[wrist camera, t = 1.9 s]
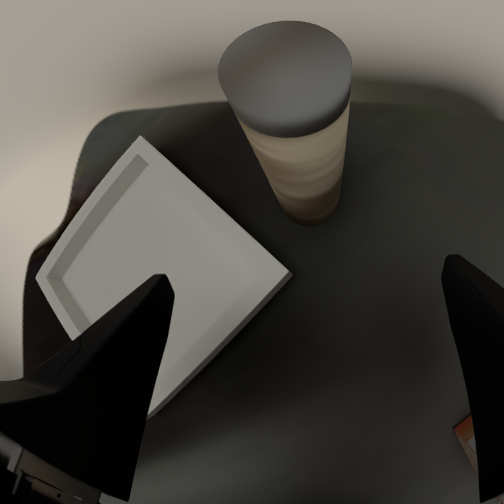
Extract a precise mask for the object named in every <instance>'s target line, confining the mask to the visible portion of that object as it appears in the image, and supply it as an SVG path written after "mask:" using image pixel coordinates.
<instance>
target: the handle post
mask: <svg viewBox="0 0 504 504" xmlns="http://www.w3.org/2000/svg"><path fill="white" fill-rule="evenodd" d="M351 74H352V60H351V56H350V53H349V51H348V49H347V47H346V45H345V44H344V43H343V42H342V40H341V39H339V38H338V37H337V36H336V35H335V34H333V33H332V32H330V31H329V30H327V29H325V28H323V27H320V26H318V25H315V24H311V23H307V22H301V21H278V22H272V23H268V24H264V25H261V26H258V27H255V28H253V29H251V30H249V31H247V32H245V33H243V34H242V35H241V36H239V37H238V38H237V39H235V40H234V41H233V42H232V43H231V44H230V45H229V46H228V47H227V49H226V50H225V52H224V53H223V55H222V57H221V59H220V62H219V67H218V79H219V83H220V85H221V87H222V89H223V91H224V93H225V95H226V97H227V99H228V101H229V103H230V105H231V107H232V109H233V110H234V112H235V114H236V116H237V118H238V120H239V122H240V124H241V126H242V128H243V130H244V132H245V134H246V136H247V138H248V140H249V142H250V144H251V146H252V148H253V150H254V152H255V154H256V156H257V158H258V160H259V162H260V164H261V166H262V168H263V170H264V172H265V174H266V176H267V178H268V180H269V182H270V185H271V187H272V189H273V191H274V193H275V195H276V197H277V199H278V201H279V203H280V206H281V208H282V210H283V211H284V213H285V214H286V215H287V216H288V217H289V218H290V219H291V220H292V221H294V222H296V223H298V224H302V225H317V224H320V223H323V222H324V221H326V220H328V219H329V218H330V217H331V216H332V215H333V214H334V212H335V211H336V209H337V206H338V203H339V196H340V189H341V181H342V173H343V165H344V156H345V147H346V137H347V127H348V116H349V103H350V89H351Z"/></svg>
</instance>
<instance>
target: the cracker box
mask: <svg viewBox="0 0 504 504" xmlns="http://www.w3.org/2000/svg"><path fill="white" fill-rule="evenodd" d="M454 431H455V434H456V436H457V438H458V440H459V442H460V444H461V446H462V448H463V450H464V452H465V454H466V456H467V458H468V460H469V462H470V464H471V467H472V469H473V470H474V471H475V472H476V473H477V475H478V464H477V454H476V445H475V443H476V442H475V436H474V429H473V422H472V416H471V415H470V416H469V417H468V418H466V419H465V420H464V421H463V422H461V423H460V424H459V425H458V426H457V427H455V428H454ZM497 498H498V500H499V501H500V502H501V503H502V504H504V495H501V496H499V497H497Z"/></svg>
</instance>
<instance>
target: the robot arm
mask: <svg viewBox="0 0 504 504" xmlns="http://www.w3.org/2000/svg"><path fill="white" fill-rule="evenodd" d="M441 281H442V287H443V291H444V296H445V300H446V305H447V310H448V316H449V321H450V325H451V329H452V332H453V336H454V339H455V343H456V347H457V351H458V355H459V359H460V363H461V367H462V371H463V375H464V380H465V385H466V389H467V394H468V399H469V405H470V410H471V416H472V422H473V429H474V436H475V442H476V443H475V445H476V454H477V464H478V476H479V495H480V503H483V502H485V501H488V500H491V499H494V498H496V497H499V496H501V495H504V288H503V287H501V286H500V285H499V284H498V283H496V282H495V281H494V280H492V279H491V278H490V277H489V276H487V275H486V274H485V273H483V272H482V271H481V270H479V269H478V268H477V267H475V266H474V265H473V264H471V263H470V262H468V261H467V260H466V259H464V258H463V257H462V256H460V255H458V254H454V255H448V256H447V257H446V259H445V263H444V267H443V271H442V276H441ZM174 300H175V293H174V290H173V288H172V285H171V283H170V281H169V279H168V276H167V275H166V274H154V275H152V276H151V277H150V278H149V279H147V280H146V281H145V282H144V283H142V284H141V285H140V286H139V287H137V288H136V289H135V290H134V291H132V292H131V293H130V294H129V295H127V296H126V297H125V298H124V299H122V300H121V301H120V302H119V303H117V304H116V305H115V306H114V307H113V308H111V309H110V310H109V311H108V312H106V313H105V314H104V315H103V316H102V317H100V318H99V319H98V320H97V321H96V322H94V323H93V324H92V325H91V326H90V327H88V328H87V329H86V330H85V331H84V332H82V334H80V335H79V336H78V337H76V338H75V339H74V340H73V341H72V342H70V343H69V344H68V345H67V346H66V347H64V348H63V349H62V350H61V351H59V352H58V353H57V354H55V355H54V356H53V357H51V358H50V359H49V360H47V361H46V362H45V363H43V364H42V365H41V366H39V367H38V368H37V369H35V370H34V371H33V372H31V373H30V374H29V375H27V376H25V377H23V378H21V379H18V380H13V381H0V504H101V503H99V499H100V495H101V493H104V494H106V495H109V496H112V497H115V498H117V499H120V500H123V501H126V502H128V501H129V498H130V493H131V488H132V483H133V478H134V473H135V469H136V464H137V459H138V455H139V450H140V445H141V441H142V437H143V432H144V428H145V424H146V420H147V416H148V411H149V407H150V403H151V399H152V395H153V392H154V388H155V384H156V380H157V376H158V372H159V369H160V365H161V361H162V358H163V354H164V350H165V347H166V343H167V339H168V335H169V330H170V324H171V318H172V312H173V306H174Z"/></svg>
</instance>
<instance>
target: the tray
mask: <svg viewBox="0 0 504 504" xmlns="http://www.w3.org/2000/svg"><path fill="white" fill-rule="evenodd" d="M154 274H166V275H167V276H168V279H169V281H170V283H171V285H172V288H173V290H174V293H175V300H174V306H173V312H172V318H171V324H170V330H169V335H168V339H167V343H166V347H165V350H164V354H163V358H162V361H161V365H160V369H159V372H158V376H157V380H156V384H155V388H154V392H153V395H152V399H151V403H150V407H149V411H148V416H147V419H149V418H150V417H152V416H154V415H155V414H156V413H157V412H159V411H160V410H161V409H162V408H163V407H164V406H165V405H166V404H167V403H168V402H169V401H170V400H171V399H172V398H173V397H174V396H175V395H176V394H177V393H178V392H179V391H180V390H182V389H183V388H184V387H185V386H186V385H187V384H188V383H189V382H190V381H191V380H192V379H193V378H194V377H195V376H196V375H197V374H198V373H199V372H200V371H201V370H202V369H203V368H204V367H205V366H206V365H207V364H208V363H209V362H210V361H211V360H212V359H213V358H214V357H215V356H216V355H217V354H218V353H219V352H220V351H221V350H222V349H223V348H224V347H225V346H226V345H227V344H228V343H229V342H230V341H231V340H232V339H233V338H234V337H235V336H236V335H237V334H238V333H239V332H240V331H241V330H242V329H243V328H244V327H245V325H246V324H247V323H248V322H249V321H250V320H251V319H252V318H253V317H254V316H255V315H256V314H257V313H258V312H259V311H260V310H261V309H262V308H263V307H264V306H265V305H266V304H267V303H268V301H269V300H270V299H271V298H272V297H273V296H274V295H275V294H276V293H277V292H278V291H279V290H280V289H281V288H282V287H283V285H284V284H285V283H286V282H287V281H288V280H289V279H290V278H291V277H292V276H293V274H292V273H291V272H290V271H289V270H287V269H286V268H285V267H284V266H283V265H282V264H281V263H280V262H279V261H278V260H277V259H276V258H275V257H273V256H272V255H271V254H270V253H269V252H268V251H267V250H266V249H265V248H264V247H263V246H262V245H261V244H259V243H258V242H257V241H256V240H255V239H254V238H253V237H252V236H251V235H250V234H249V233H248V232H246V231H245V230H244V229H243V228H242V227H241V226H240V225H239V224H238V223H237V222H236V221H234V220H233V219H232V218H231V217H230V216H229V215H228V214H227V213H226V212H225V211H224V210H222V209H221V208H220V207H219V206H218V205H217V204H216V203H215V202H214V201H213V200H212V199H210V198H209V197H208V196H207V195H206V194H205V193H204V192H203V191H202V190H201V189H199V188H198V187H197V186H196V185H195V184H194V183H193V182H192V181H191V180H190V179H189V178H187V177H186V176H185V175H184V174H183V173H182V172H181V171H180V170H179V169H178V168H176V167H175V166H174V165H173V164H172V163H171V162H170V161H169V160H168V159H166V158H165V157H164V156H163V155H162V154H161V153H160V152H159V151H158V150H156V149H155V148H154V147H153V146H152V145H151V144H150V143H148V142H147V141H146V140H145V139H144V138H143V137H142V136H139V137H138V138H137V139H136V141H135V142H134V143H133V144H132V145H131V146H130V147H129V148H128V150H127V151H126V152H125V153H124V154H123V155H122V157H121V158H120V159H119V160H118V161H117V163H116V164H115V165H114V166H113V167H112V169H111V170H110V171H109V172H108V174H107V175H106V176H105V177H104V179H103V180H102V181H101V182H100V184H99V185H98V186H97V187H96V189H95V190H94V191H93V193H92V194H91V195H90V197H89V198H88V199H87V201H86V202H85V203H84V205H83V206H82V207H81V209H80V210H79V211H78V213H77V214H76V216H75V217H74V218H73V220H72V221H71V223H70V224H69V226H68V227H67V229H66V230H65V231H64V233H63V234H62V236H61V237H60V239H59V240H58V242H57V243H56V245H55V246H54V248H53V250H52V251H51V253H50V254H49V256H48V257H47V259H46V261H45V262H44V264H43V266H42V267H41V269H40V270H39V272H38V274H37V276H36V277H35V278H36V280H37V282H38V283H39V285H40V287H41V289H42V291H43V293H44V295H45V296H46V298H47V300H48V302H49V303H50V305H51V307H52V309H53V310H54V312H55V314H56V315H57V317H58V319H59V320H60V322H61V324H62V325H63V327H64V328H65V330H66V332H67V333H68V335H69V336H70V338H71V339H72V341H73V340H74V339H75V338H76V337H78V336H79V335H80V334H82V332H84V331H85V330H86V329H87V328H88V327H90V326H91V325H92V324H93V323H94V322H96V321H97V320H98V319H99V318H100V317H102V316H103V315H104V314H105V313H106V312H108V311H109V310H110V309H111V308H113V307H114V306H115V305H116V304H117V303H119V302H120V301H121V300H122V299H124V298H125V297H126V296H127V295H129V294H130V293H131V292H132V291H134V290H135V289H136V288H137V287H139V286H140V285H141V284H142V283H144V282H145V281H146V280H147V279H149V278H150V277H151V276H152V275H154Z"/></svg>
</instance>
